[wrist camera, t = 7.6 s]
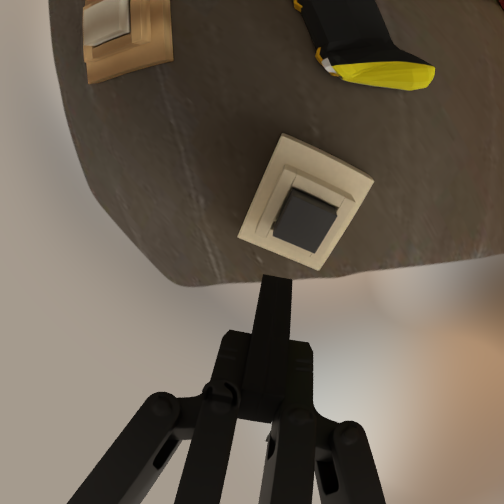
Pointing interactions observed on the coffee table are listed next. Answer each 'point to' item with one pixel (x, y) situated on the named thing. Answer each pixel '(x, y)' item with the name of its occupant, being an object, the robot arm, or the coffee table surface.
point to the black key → (304, 221)
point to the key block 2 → (312, 183)
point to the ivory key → (106, 21)
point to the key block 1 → (133, 42)
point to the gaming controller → (361, 45)
